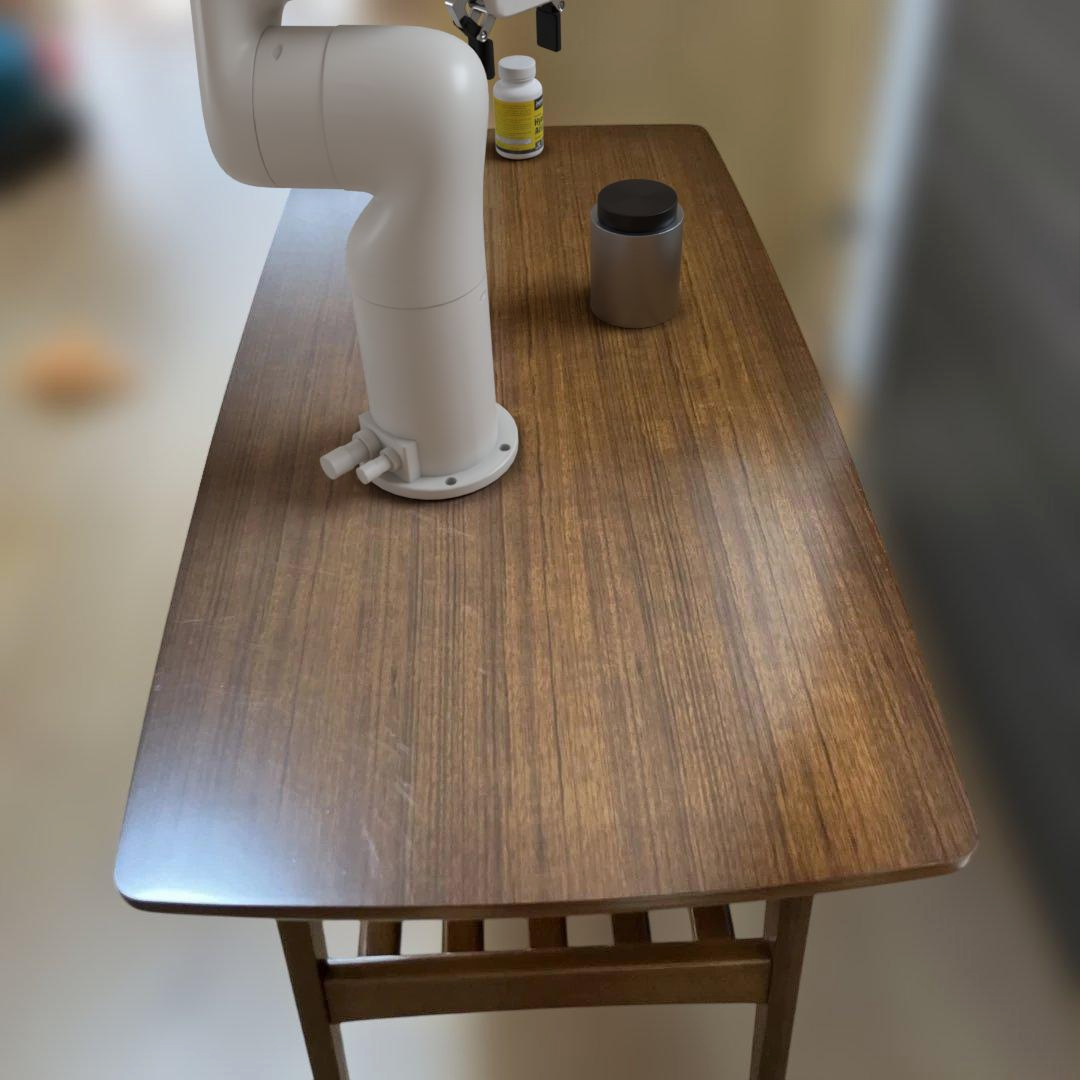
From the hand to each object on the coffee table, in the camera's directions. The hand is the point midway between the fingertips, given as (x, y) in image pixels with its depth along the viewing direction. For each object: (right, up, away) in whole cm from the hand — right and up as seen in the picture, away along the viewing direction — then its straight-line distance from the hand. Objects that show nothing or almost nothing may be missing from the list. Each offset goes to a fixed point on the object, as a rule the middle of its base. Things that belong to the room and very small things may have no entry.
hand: (516, 62), depth 119 cm
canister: (+11, -30, -17) cm, 36 cm away
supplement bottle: (0, -7, +7) cm, 10 cm away
